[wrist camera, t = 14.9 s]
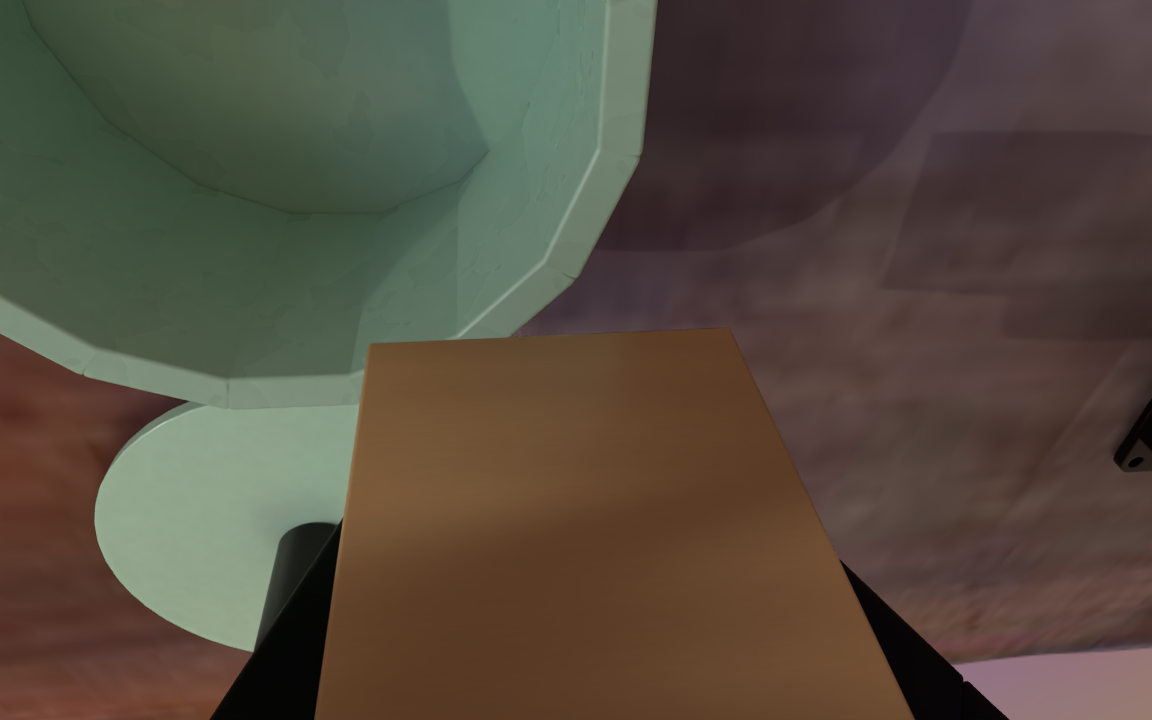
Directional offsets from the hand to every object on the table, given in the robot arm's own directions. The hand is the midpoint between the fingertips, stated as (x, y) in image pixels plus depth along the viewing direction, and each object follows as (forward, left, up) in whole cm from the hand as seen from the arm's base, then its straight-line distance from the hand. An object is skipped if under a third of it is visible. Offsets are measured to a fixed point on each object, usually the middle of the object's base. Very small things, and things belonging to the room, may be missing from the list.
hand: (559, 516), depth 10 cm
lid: (+6, +12, -10) cm, 16 cm away
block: (0, 0, -1) cm, 1 cm away
